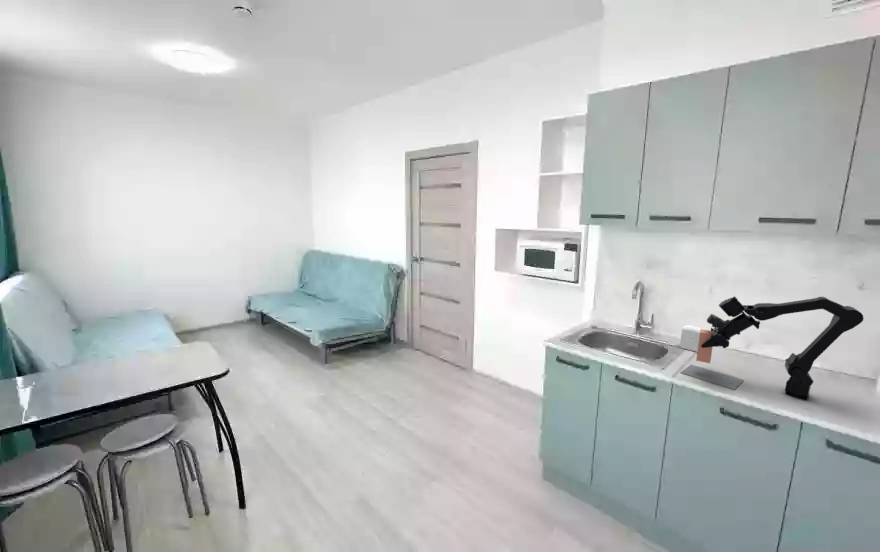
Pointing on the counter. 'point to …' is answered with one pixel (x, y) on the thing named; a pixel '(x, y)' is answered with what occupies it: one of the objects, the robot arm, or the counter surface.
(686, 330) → the photo printer
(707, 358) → the card box
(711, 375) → the mat
